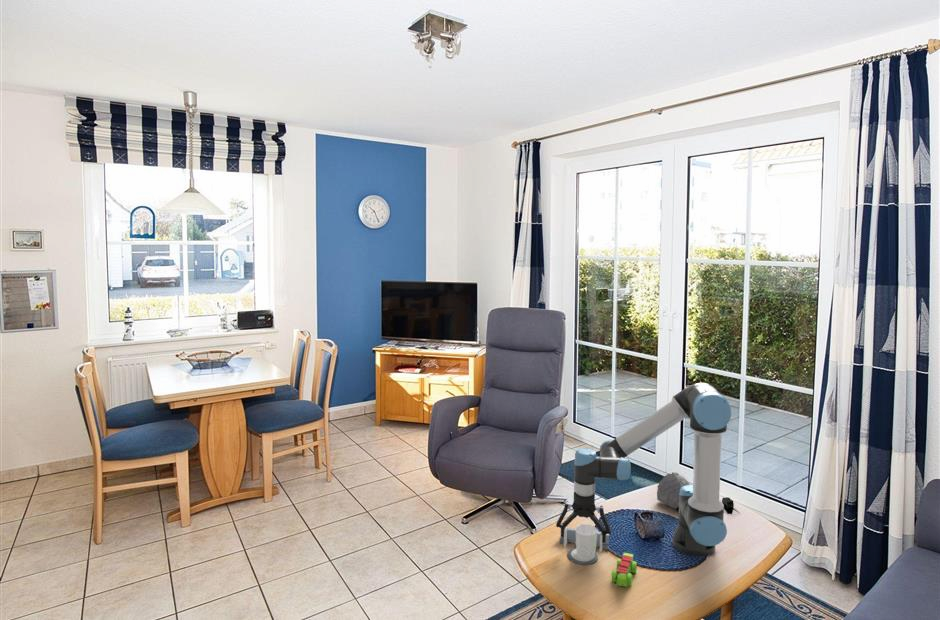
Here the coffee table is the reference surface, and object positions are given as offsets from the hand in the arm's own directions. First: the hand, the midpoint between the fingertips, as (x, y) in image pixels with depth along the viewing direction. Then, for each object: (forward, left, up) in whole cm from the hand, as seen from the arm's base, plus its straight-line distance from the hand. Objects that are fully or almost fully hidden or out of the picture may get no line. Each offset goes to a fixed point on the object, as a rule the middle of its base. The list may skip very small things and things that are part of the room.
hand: (582, 547), depth 206 cm
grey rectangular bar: (0, -9, -3) cm, 10 cm away
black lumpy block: (-57, -53, -4) cm, 78 cm away
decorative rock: (-36, -49, -4) cm, 61 cm away
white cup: (-1, 0, -3) cm, 3 cm away
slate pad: (0, 0, -3) cm, 3 cm away
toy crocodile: (-15, +8, -4) cm, 17 cm away
